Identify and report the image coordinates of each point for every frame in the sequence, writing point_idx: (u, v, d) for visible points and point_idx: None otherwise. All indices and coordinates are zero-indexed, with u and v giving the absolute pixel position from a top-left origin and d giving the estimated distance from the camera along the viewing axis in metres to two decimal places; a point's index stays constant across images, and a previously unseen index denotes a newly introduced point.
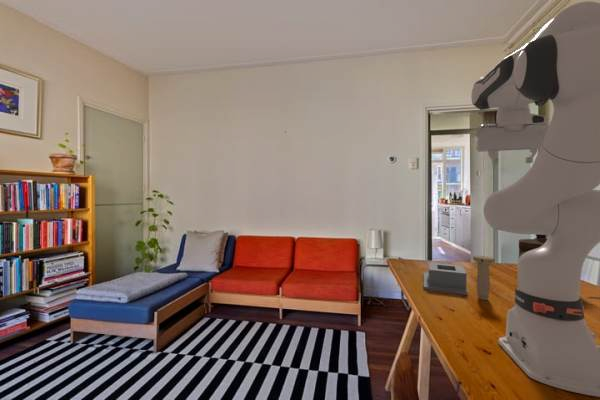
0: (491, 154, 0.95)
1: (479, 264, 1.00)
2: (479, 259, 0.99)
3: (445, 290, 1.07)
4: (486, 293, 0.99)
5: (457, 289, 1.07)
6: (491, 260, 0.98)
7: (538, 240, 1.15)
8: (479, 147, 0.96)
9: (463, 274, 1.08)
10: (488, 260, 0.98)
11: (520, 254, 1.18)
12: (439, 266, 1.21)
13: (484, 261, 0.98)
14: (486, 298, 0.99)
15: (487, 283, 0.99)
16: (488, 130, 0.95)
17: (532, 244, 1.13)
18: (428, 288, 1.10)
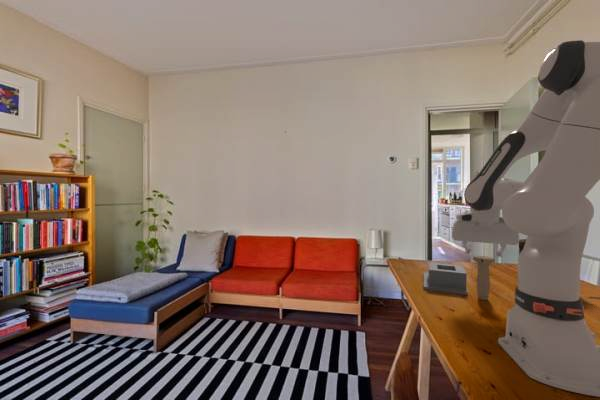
0: None
1: (479, 264, 1.00)
2: (479, 259, 0.99)
3: (445, 290, 1.07)
4: (486, 293, 0.99)
5: (457, 289, 1.07)
6: (491, 260, 0.98)
7: None
8: None
9: (463, 274, 1.08)
10: (488, 260, 0.98)
11: None
12: (439, 266, 1.21)
13: (484, 261, 0.98)
14: (486, 298, 0.99)
15: (487, 283, 0.99)
16: None
17: None
18: (428, 288, 1.10)
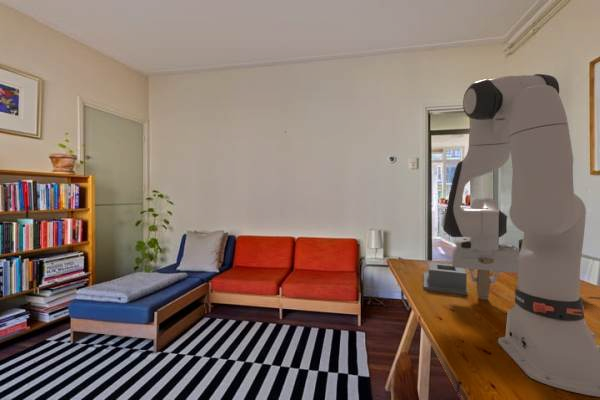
0: None
1: None
2: (479, 259, 0.99)
3: (445, 290, 1.07)
4: (486, 293, 0.99)
5: (457, 289, 1.07)
6: (491, 260, 0.98)
7: None
8: None
9: (463, 274, 1.08)
10: (488, 260, 0.98)
11: None
12: (439, 266, 1.21)
13: (484, 261, 0.98)
14: (486, 298, 0.99)
15: (487, 283, 0.99)
16: None
17: None
18: (428, 288, 1.10)
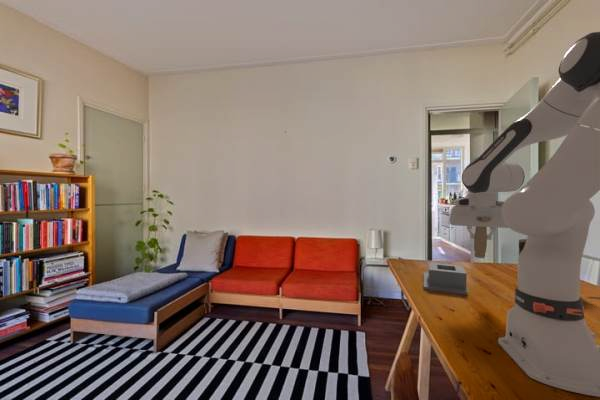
0: None
1: None
2: (477, 217, 1.00)
3: (445, 290, 1.07)
4: (483, 251, 1.00)
5: (457, 289, 1.07)
6: (489, 218, 0.99)
7: None
8: None
9: (463, 274, 1.08)
10: (486, 218, 0.99)
11: None
12: (439, 266, 1.21)
13: (482, 219, 0.99)
14: (483, 256, 1.01)
15: (484, 241, 1.00)
16: None
17: None
18: (428, 288, 1.10)
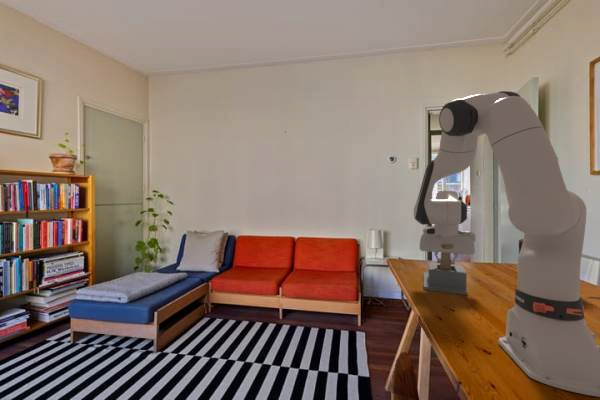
0: None
1: None
2: (442, 245, 1.15)
3: (445, 290, 1.07)
4: None
5: (457, 289, 1.07)
6: (452, 245, 1.13)
7: None
8: None
9: (463, 274, 1.08)
10: (449, 245, 1.13)
11: None
12: (439, 266, 1.21)
13: (446, 246, 1.14)
14: None
15: (448, 265, 1.14)
16: None
17: None
18: (428, 288, 1.10)
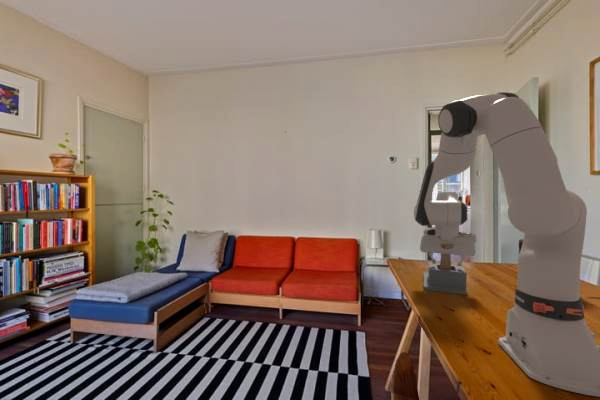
0: None
1: None
2: (441, 245, 1.15)
3: (445, 290, 1.07)
4: None
5: (457, 289, 1.07)
6: (451, 245, 1.13)
7: None
8: None
9: (463, 274, 1.08)
10: (449, 245, 1.13)
11: None
12: (439, 266, 1.21)
13: (445, 246, 1.14)
14: None
15: (448, 265, 1.14)
16: None
17: None
18: (428, 288, 1.10)
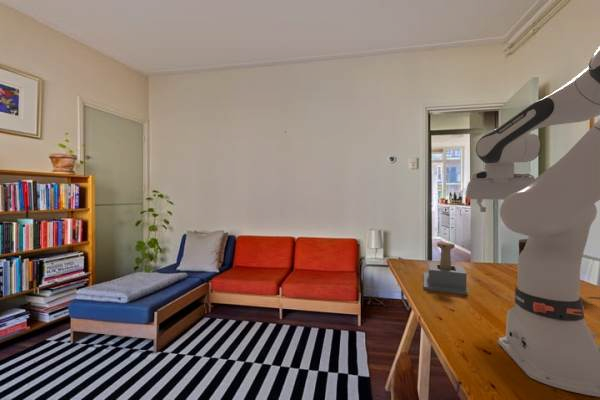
0: None
1: (442, 249, 1.16)
2: (441, 245, 1.15)
3: (445, 290, 1.07)
4: None
5: (457, 289, 1.07)
6: (452, 245, 1.13)
7: None
8: None
9: (463, 274, 1.08)
10: (449, 245, 1.13)
11: None
12: (439, 266, 1.21)
13: (445, 246, 1.14)
14: None
15: (448, 265, 1.14)
16: None
17: None
18: (428, 288, 1.10)
